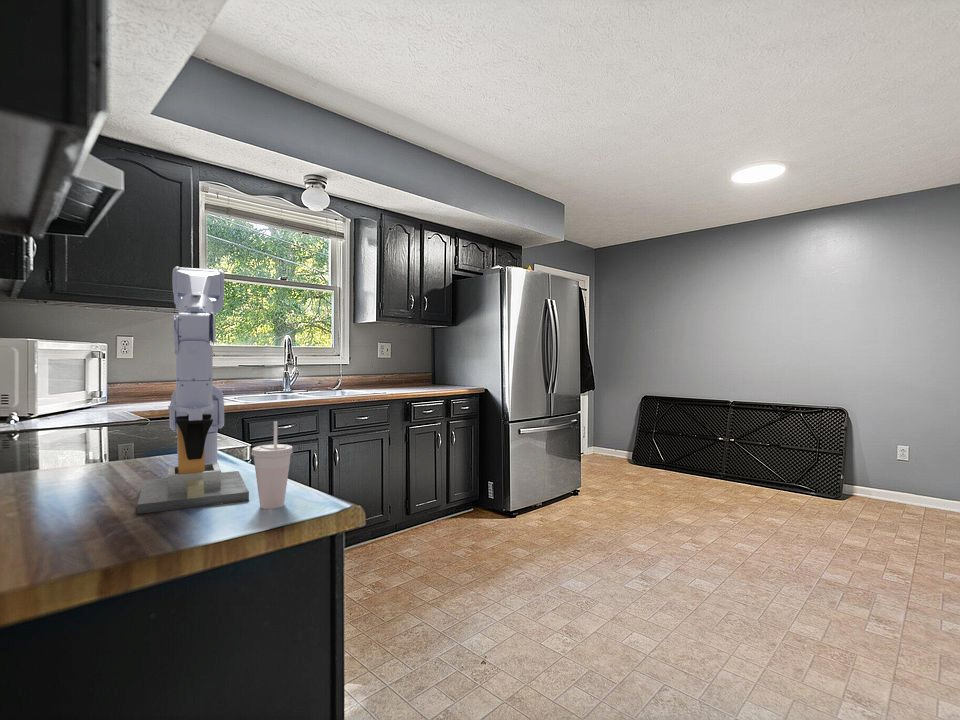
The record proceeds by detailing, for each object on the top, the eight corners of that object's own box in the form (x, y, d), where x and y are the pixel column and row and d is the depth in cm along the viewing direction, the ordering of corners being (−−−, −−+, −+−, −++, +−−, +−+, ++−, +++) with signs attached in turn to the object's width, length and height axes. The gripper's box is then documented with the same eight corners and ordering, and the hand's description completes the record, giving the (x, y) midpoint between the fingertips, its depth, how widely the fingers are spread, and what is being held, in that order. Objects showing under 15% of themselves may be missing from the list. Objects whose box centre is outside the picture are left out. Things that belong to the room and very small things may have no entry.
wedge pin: (178, 471, 94) (177, 426, 94) (203, 468, 96) (202, 425, 96) (178, 476, 91) (177, 429, 91) (204, 473, 93) (203, 427, 93)
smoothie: (278, 512, 83) (278, 424, 83) (242, 510, 85) (242, 423, 85) (300, 501, 90) (300, 419, 90) (266, 499, 91) (266, 418, 91)
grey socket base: (143, 487, 98) (143, 463, 98) (238, 478, 106) (238, 456, 106) (137, 514, 82) (137, 485, 82) (248, 500, 90) (249, 474, 90)
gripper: (168, 378, 98) (168, 451, 98) (167, 382, 85) (167, 466, 86) (211, 378, 101) (211, 448, 102) (216, 382, 89) (216, 462, 89)
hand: (194, 456), depth 94 cm, fingers closed on wedge pin, 4 cm apart
